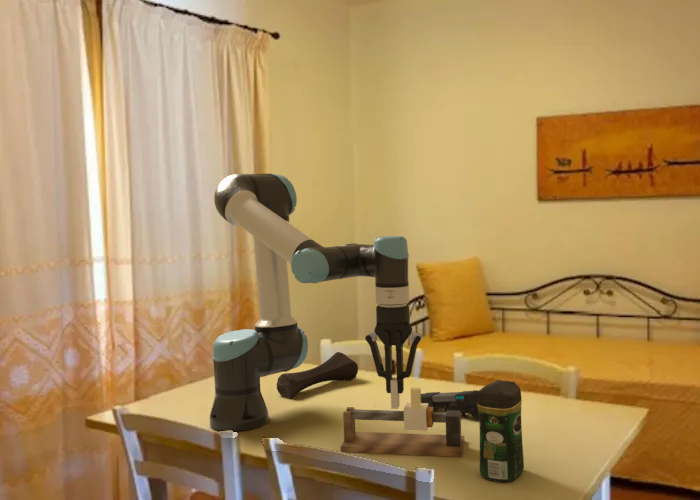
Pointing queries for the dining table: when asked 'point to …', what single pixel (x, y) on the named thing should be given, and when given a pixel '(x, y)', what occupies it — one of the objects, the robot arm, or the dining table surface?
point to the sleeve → (415, 412)
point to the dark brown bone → (318, 375)
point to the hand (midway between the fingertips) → (395, 406)
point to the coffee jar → (500, 431)
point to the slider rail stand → (400, 441)
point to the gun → (454, 402)
